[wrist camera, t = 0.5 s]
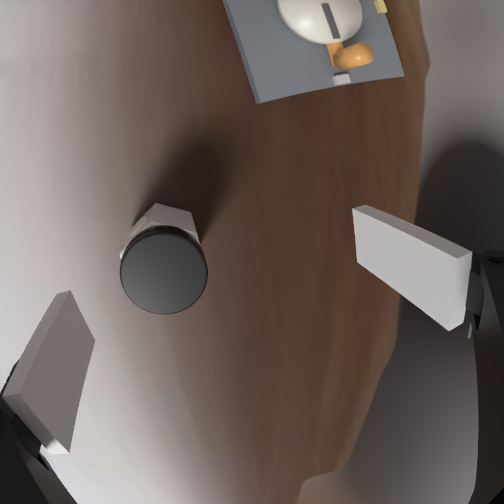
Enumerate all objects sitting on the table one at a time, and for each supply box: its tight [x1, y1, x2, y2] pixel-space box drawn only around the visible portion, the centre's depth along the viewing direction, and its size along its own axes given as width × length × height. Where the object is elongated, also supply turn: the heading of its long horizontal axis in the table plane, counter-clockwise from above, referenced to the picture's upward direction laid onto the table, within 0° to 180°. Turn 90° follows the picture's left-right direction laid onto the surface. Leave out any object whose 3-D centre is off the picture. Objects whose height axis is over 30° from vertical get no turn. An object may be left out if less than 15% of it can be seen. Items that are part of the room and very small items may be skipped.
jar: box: [120, 203, 208, 314], centre depth 34 cm, size 9×8×12 cm
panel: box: [222, 0, 404, 104], centre depth 32 cm, size 22×22×3 cm
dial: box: [276, 0, 374, 71], centre depth 29 cm, size 15×11×6 cm
